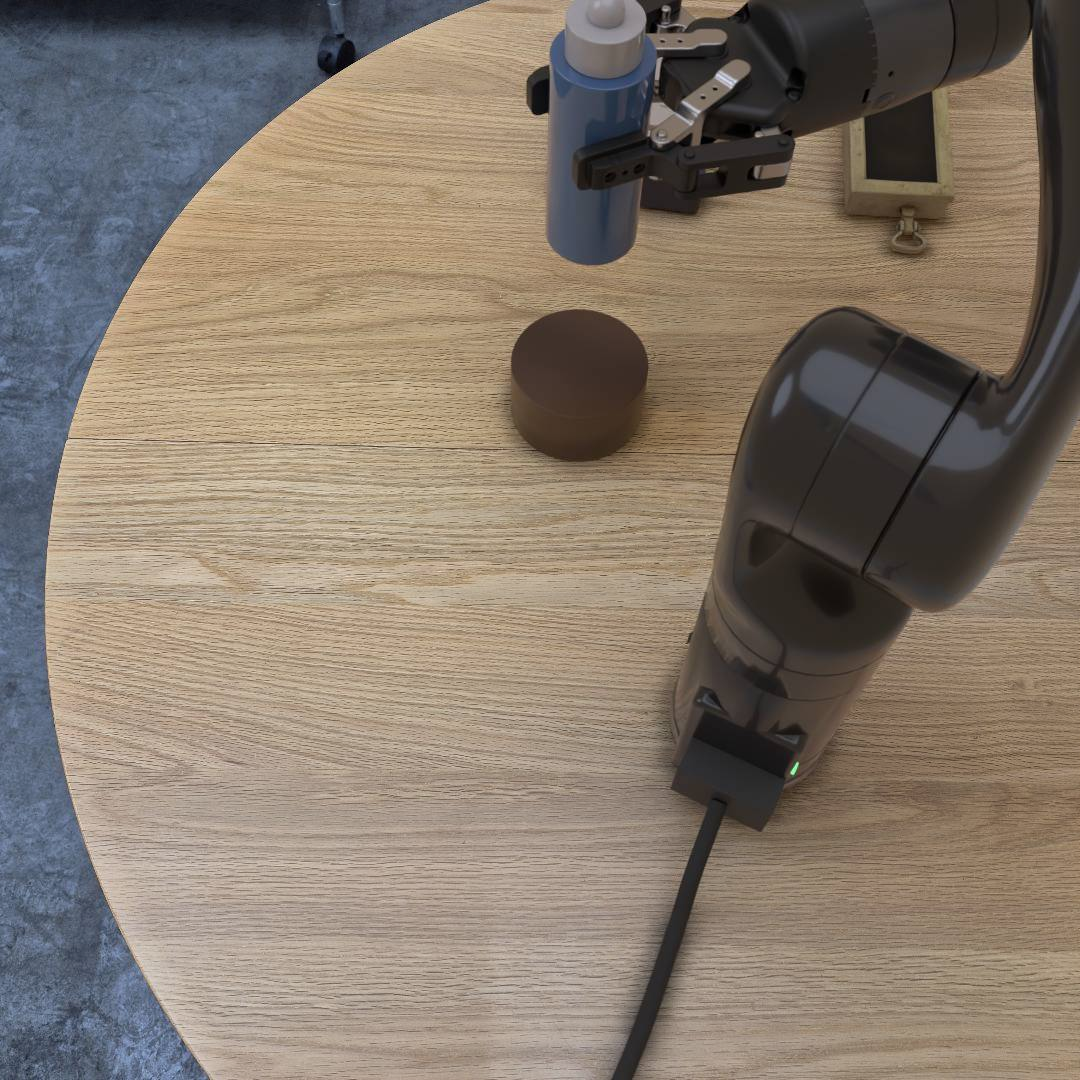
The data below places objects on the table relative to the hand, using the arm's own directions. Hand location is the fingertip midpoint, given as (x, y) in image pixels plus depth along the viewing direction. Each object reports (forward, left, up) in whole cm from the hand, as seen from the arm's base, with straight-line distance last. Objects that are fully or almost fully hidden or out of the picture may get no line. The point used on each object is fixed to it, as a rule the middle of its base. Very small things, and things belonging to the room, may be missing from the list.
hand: (553, 133), depth 61 cm
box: (+36, -13, -25) cm, 46 cm away
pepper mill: (+2, -2, -8) cm, 8 cm away
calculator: (+28, +5, -25) cm, 38 cm away
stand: (+2, -2, -25) cm, 25 cm away
